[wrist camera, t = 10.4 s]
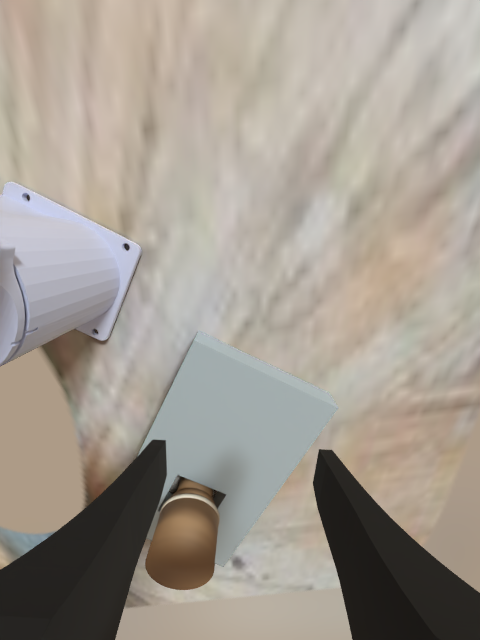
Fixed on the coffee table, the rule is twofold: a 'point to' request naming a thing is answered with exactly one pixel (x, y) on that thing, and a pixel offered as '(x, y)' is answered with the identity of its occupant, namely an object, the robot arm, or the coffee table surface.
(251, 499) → the board
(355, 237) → the coffee table surface
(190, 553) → the peg
